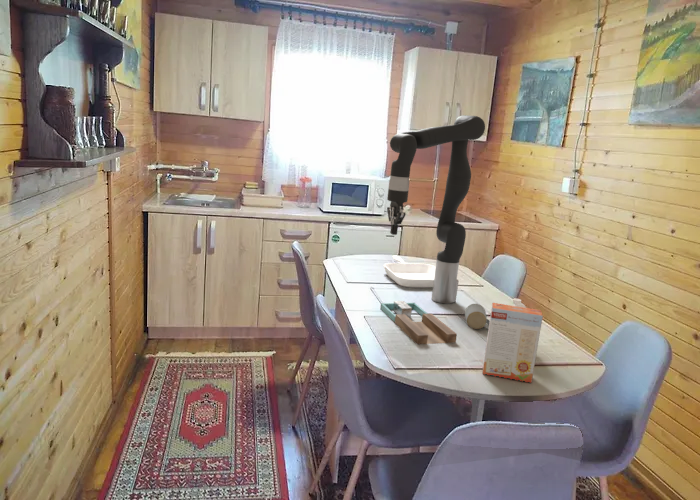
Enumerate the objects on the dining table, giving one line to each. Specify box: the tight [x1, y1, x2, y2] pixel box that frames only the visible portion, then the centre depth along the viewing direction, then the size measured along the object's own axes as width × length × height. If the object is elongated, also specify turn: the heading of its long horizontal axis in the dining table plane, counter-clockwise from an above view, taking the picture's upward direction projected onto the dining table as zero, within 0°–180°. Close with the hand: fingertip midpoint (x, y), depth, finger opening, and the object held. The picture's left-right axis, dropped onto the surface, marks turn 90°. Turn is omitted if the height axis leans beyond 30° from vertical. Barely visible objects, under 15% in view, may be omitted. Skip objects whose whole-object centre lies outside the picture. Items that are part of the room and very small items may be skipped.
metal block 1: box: [392, 300, 408, 314], centre depth 201 cm, size 4×4×4 cm
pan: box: [383, 255, 436, 289], centre depth 257 cm, size 27×44×5 cm, turn 16°
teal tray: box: [379, 302, 429, 323], centre depth 198 cm, size 14×14×3 cm
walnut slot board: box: [394, 313, 458, 345], centre depth 183 cm, size 14×19×4 cm
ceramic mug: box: [464, 303, 490, 330], centre depth 195 cm, size 11×8×8 cm
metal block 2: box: [396, 305, 413, 318], centre depth 197 cm, size 4×4×4 cm
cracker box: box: [482, 302, 544, 384], centre depth 155 cm, size 14×6×21 cm, turn 75°
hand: (393, 234), depth 202 cm, fingers closed
